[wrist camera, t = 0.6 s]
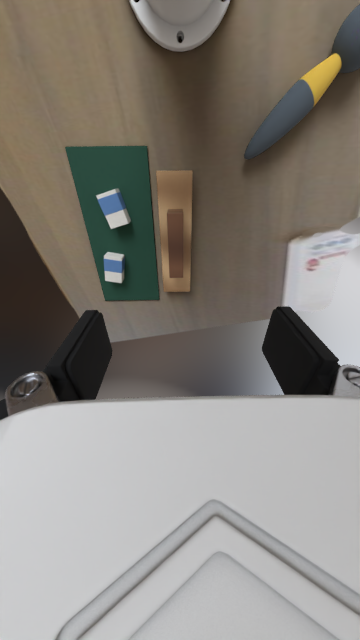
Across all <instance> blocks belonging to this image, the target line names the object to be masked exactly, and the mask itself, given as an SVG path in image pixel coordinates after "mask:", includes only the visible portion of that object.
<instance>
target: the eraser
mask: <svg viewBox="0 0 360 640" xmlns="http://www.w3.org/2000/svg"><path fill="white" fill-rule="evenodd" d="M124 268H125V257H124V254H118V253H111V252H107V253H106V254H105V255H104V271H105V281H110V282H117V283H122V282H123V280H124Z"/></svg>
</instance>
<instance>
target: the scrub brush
mask: <svg viewBox="0 0 360 640" xmlns="http://www.w3.org/2000/svg"><path fill="white" fill-rule="evenodd" d="M192 175H193V171H192V170H189V171H156V177H157V193H158V208H159V224H160V240H161V256H162V271H163V287H164V292H189V291H190V267H191V221H192Z"/></svg>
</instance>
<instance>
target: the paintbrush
mask: <svg viewBox="0 0 360 640" xmlns="http://www.w3.org/2000/svg"><path fill="white" fill-rule="evenodd" d="M359 68H360V4H359V5H358V6H357V7H356V8H355V9H354V10H353V11H352V12H351V13H350V14H349V16H348V17H347V18H346V20H345V21H344V23H343V24H342V26H341V28H340V29H339V31H338V33H337V36H336V38H335V41H334V44H333V48H332V55H331V56H330V57H328V58H327V59H325V60H324V61H323V62H321V63H320V64H318V65H317V66H316V67H314V68H313V69H312V70H310V71H309V72H308V73H307V74H305V75H304V76H303V77H302V78H300V79H299V80H298V81H297V82H296V83H295V84H294V85H293V86H292V88H291V89H290V90H289V91H288V92H287V93H286V94H285V95H284V97H283V98H282V99H281V100H280V101H279V102H278V104H277V105H276V106H275V107H274V109H273V110H272V111H271V112H270V114H269V115H268V116H267V118H266V119H265V120H264V122H263V123H262V124H261V126H260V127H259V129H258V130H257V131H256V133H255V134H254V136H253V138H252V139H251V141H250V143H249V145H248V146H247V149H246V151H245V154H244V158H245V159H251V158H253V157H255V156H257V155H259V154H261V153H262V152H264V151H265V150H266V149H268V148H269V147H270V146H272V145H273V144H274V143H275V142H277V141H278V140H279V139H280V138H282V137H283V136H284V135H285V134H286V133H287V132H289V131H290V130H291V129H292V128H293V127H294V126H295V125H296V124H297V123H298V122H299V121H301V120H302V119H303V118H304V117H305V116H306V115H307V114H308V113H309V112H310V111H311V109H312V108H313V107H314V106H315V105H316V103H317V102H318V101H319V99H320V98H321V96H322V95H323V94H324V92H325V91H326V90H327V88H328V87H329V85H330V84H331V82H332V81H333V80H334V78H335V77H336V75H337V74H338V72H340V73H349V72H353V71H355V70H357V69H359Z"/></svg>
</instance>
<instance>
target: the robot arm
mask: <svg viewBox="0 0 360 640" xmlns="http://www.w3.org/2000/svg"><path fill="white" fill-rule="evenodd" d="M129 2H130V5H131V7H132V9H133V11H134V13H135V15H136V18H137V20H138V21H139V23H140V24H141V26H142V27H143V29H144V30H145V32H146V33H147V34H148V35H149V36H150V37H151V38H152V39H153V40H154V41H155V42H156V43H158V44H159V45H161V46H162V47H163V48H166V49H169V50H171V51H180V52H183V51H188V50H192V49H194V48H196V47H198V46H199V45H201V44H202V43H204V42H205V41H206V40H207V39H208V38H209V37H210V36H211V35H212V34H213V32H214V31H215V30H216V28H217V27H218V26H219V24H220V22H221V20H222V18H223V16H224V14H225V13H226V11H227V8H228V5H229V2H230V0H224V2H221V0H139V2H137V3H136V2H135V0H129ZM179 38H181V39H182V43H179V42H178V39H179ZM262 351H263V354H264V355H265V358H266V359H267V361H268V363H269V365H270V367H271V369H272V371H273V373H274V375H275V377H276V379H277V381H278V383H279V385H280V386H281V389H282V391H283V393H284V394H285V395H249V396H203V397H202V396H199V397H158V398H126V399H125V398H123V399H98V400H95V399H96V396H97V394H98V391H99V388H100V386H101V383H102V380H103V377H104V375H105V372H106V369H107V367H108V364H109V361H110V359H111V356H112V348H111V344H110V341H109V337H108V333H107V330H106V326H105V322H104V319H103V315H102V313H99V312H98V311H97V310H86V311H85V312H84V313H83V315H82V316H81V318H80V319H79V321H78V322H77V323H76V325H75V326H74V328H73V329H72V331H71V332H70V333H69V335H68V336H67V337H66V339H65V340H64V342H63V343H62V345H61V346H60V347H59V349H58V350H57V352H56V353H55V354H54V356H53V357H52V358H51V360H50V361H49V363H48V364H47V366H46V368H45V369H44V370H43V372H40V371H35V372H30V373H27V374H25V375H23V376H21V377H19V378H17V379H16V380H15V381H13V382H12V383H11V384H10V385H9V386H8V388H7V390H6V391H5V399H3V400H1V401H0V640H360V367H358V366H354V365H343V366H340V365H338V363H337V362H338V361H339V359H338V358H337V357H335V355H334V354H333V353H332V352H331V351H330V350H329V349H328V348H327V346H325V344H324V343H323V342H322V341H321V340H320V339H319V338H318V337H317V336H316V335H315V333H314V332H313V331H312V330H311V329H310V328H309V327H308V326H307V325H306V324H305V323H304V322H303V321H302V319H301V318H300V317H299V316H298V315H297V314H296V313H295V312H294V311H293V310H292V309H291V308H290V307H277V308H276V309H274V310H273V312H272V315H271V318H270V322H269V325H268V329H267V332H266V335H265V339H264V343H263V346H262Z"/></svg>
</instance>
